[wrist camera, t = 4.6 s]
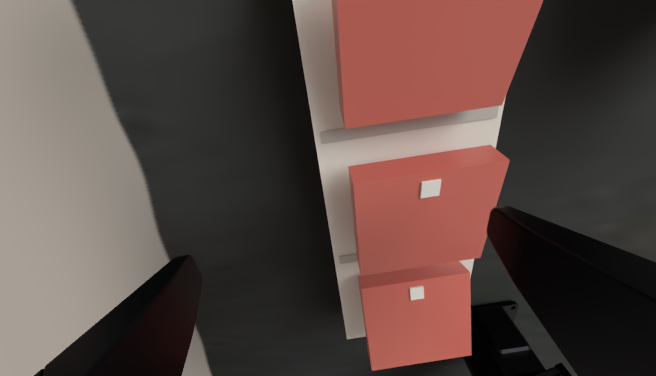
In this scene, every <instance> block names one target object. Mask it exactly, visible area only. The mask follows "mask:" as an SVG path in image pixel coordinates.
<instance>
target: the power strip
mask: <svg viewBox="0 0 656 376" xmlns="http://www.w3.org/2000/svg"><path fill="white" fill-rule="evenodd" d="M292 2H293V8H294V14H295V21H296V27H297V33H298V39H299V45H300V51H301V58H302V64H303V70H304V76H305V82H306V89H307V95H308V101H309V107H310V113H311V119H312V126H313V132H314V138H315V144H316V150H317V157H318V163H319V169H320V175H321V181H322V187H323V194H324V200H325V206H326V212H327V218H328V224H329V231H330V237H331V243H332V249H333V255H334V262H335V268H336V274H337V280H338V286H339V292H340V299H341V305H342V311H343V317H344V323H345V330H346V336H347V339H352V338H358V337H365V336H366V334H365V326H364V319H363V312H362V304H361V297H360V289H359V282H358V276H359V275H361V274H360V269H359V265H358V260H357V256H356V246H355V235H354V224H353V213H352V202H351V191H350V180H349V169H348V166H354V165H360V164H367V163H373V162H380V161H387V160H393V159H400V158H406V157H413V156H419V155H426V154H432V153H439V152H445V151H452V150H459V149H465V148H472V147H478V146H485V145H492V146H493V147H494V148H495V149H496V144H497V139H498V134H499V128H500V123H501V118H502V113H503V108H504V103H505V99H504V101H503V104H502V105H501V106H494V107H487V108H481V109H474V110H468V111H461V112H455V113H448V114H441V115H435V116H428V117H422V118H415V119H409V120H402V121H395V122H389V123H382V124H376V125H369V126H362V127H356V128H349V129H345V127H344V123H343V120H342V116H341V112H340V103H339V90H338V77H337V64H336V52H335V39H334V26H333V13H332V0H292ZM505 98H506V96H505ZM460 262H461V263H462V264H463V265H464V266H465V267H466V268H467V269H468V270H469V272H470V278H471V273H472V268H473V262H474V259H469V260H462V261H460Z"/></svg>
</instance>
